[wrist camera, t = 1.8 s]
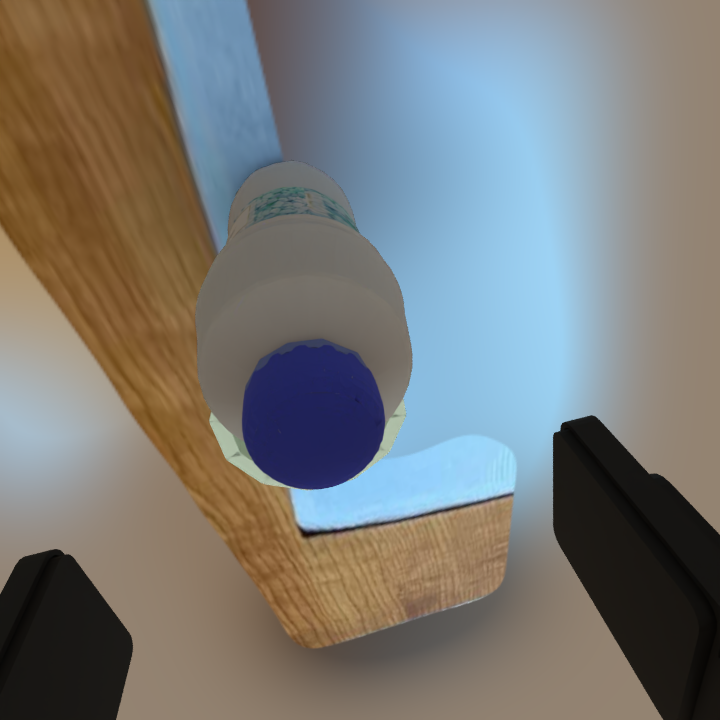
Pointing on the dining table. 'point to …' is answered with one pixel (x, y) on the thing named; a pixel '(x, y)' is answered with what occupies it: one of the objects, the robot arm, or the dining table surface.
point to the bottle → (301, 330)
